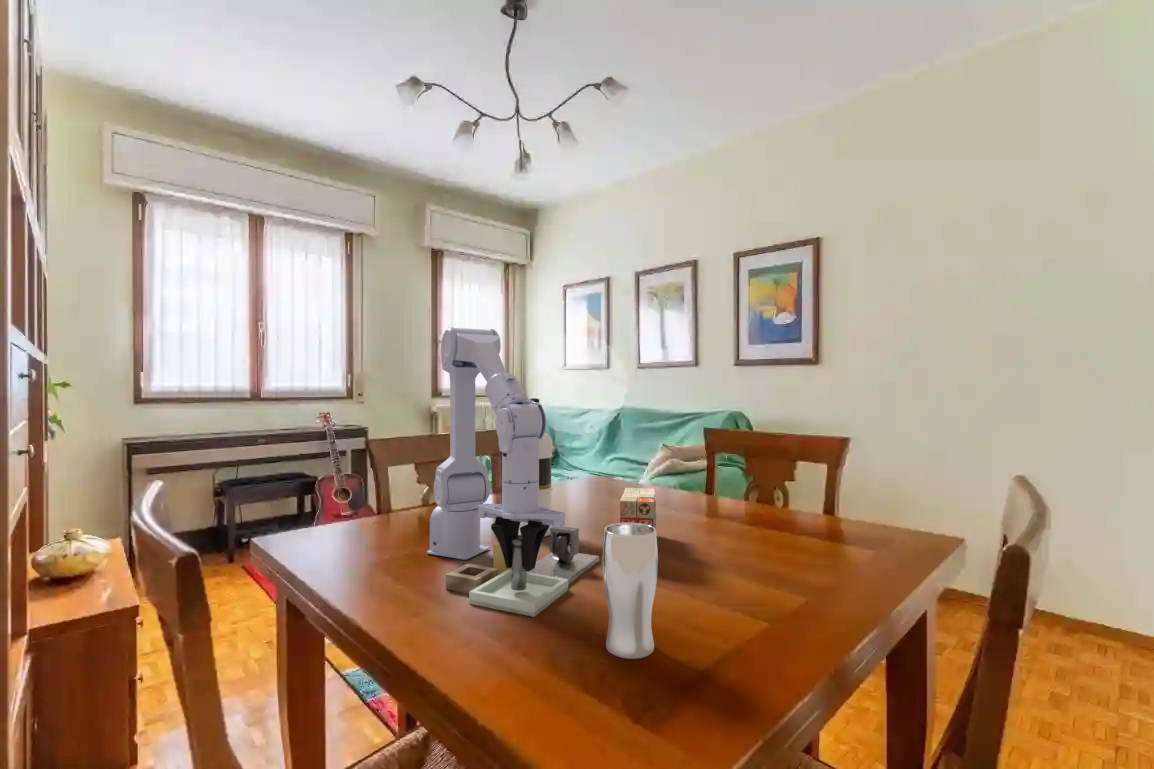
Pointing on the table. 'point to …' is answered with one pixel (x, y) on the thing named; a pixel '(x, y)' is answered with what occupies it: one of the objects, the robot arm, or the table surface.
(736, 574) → the table surface
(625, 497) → the stack of blocks
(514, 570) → the pin
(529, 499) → the robot arm
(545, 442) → the vodka
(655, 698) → the table surface
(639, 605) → the beer glass
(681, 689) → the table surface
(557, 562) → the trolley wheel
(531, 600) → the tray
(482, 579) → the socket
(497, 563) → the pale yellow cube
